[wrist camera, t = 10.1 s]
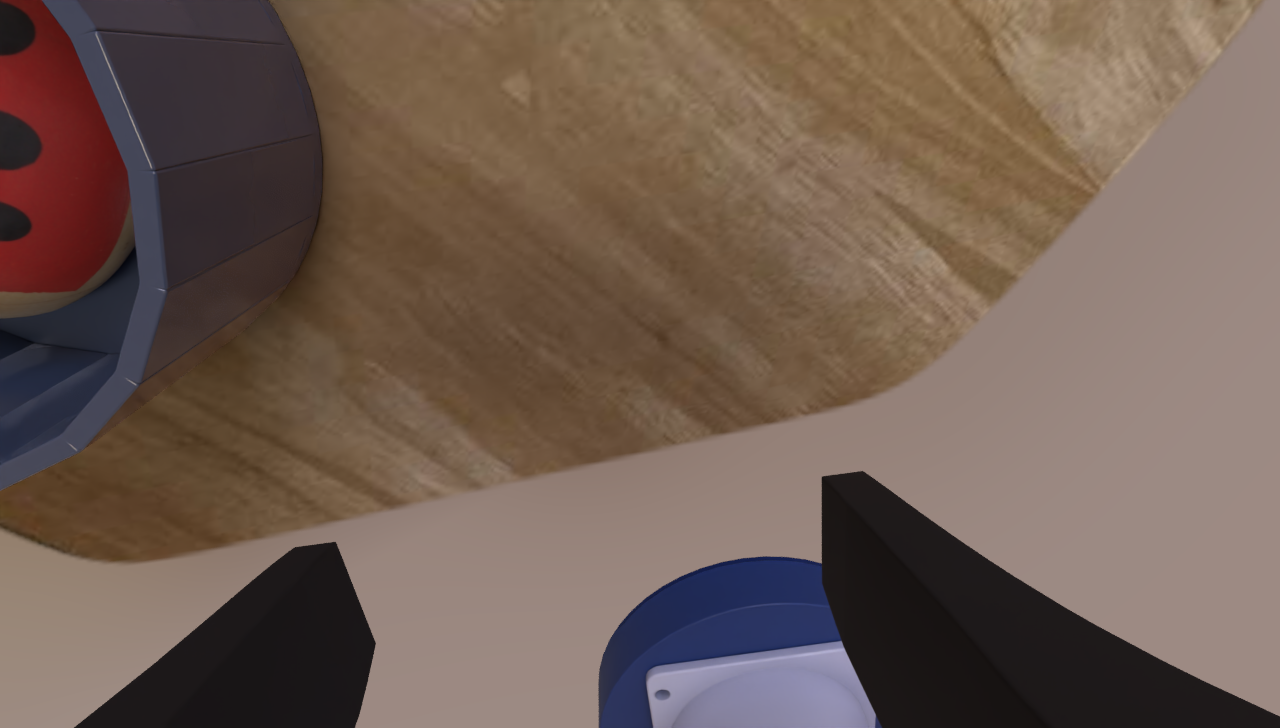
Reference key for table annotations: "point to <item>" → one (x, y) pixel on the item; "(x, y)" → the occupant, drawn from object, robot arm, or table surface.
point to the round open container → (170, 215)
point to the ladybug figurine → (54, 171)
